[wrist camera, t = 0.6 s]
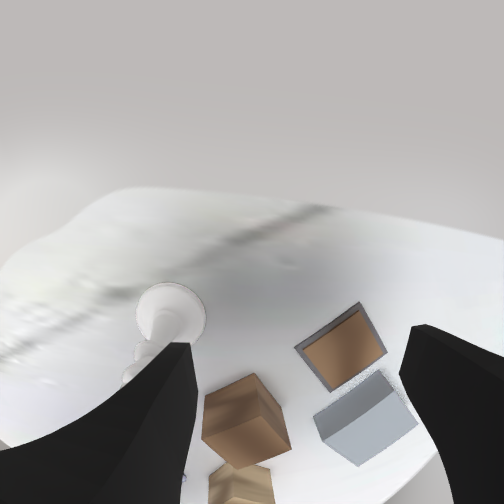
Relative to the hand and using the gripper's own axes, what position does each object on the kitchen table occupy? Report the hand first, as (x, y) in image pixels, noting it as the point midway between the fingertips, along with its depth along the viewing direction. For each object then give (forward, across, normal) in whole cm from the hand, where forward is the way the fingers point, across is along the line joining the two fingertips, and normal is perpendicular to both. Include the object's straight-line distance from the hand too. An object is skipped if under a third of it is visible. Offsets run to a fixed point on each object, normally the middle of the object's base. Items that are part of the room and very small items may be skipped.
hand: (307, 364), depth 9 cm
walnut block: (+10, +2, +12) cm, 16 cm away
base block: (+11, -8, +15) cm, 20 cm away
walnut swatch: (+11, -6, +8) cm, 14 cm away
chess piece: (+11, +7, +4) cm, 13 cm away
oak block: (+9, +3, +23) cm, 25 cm away
